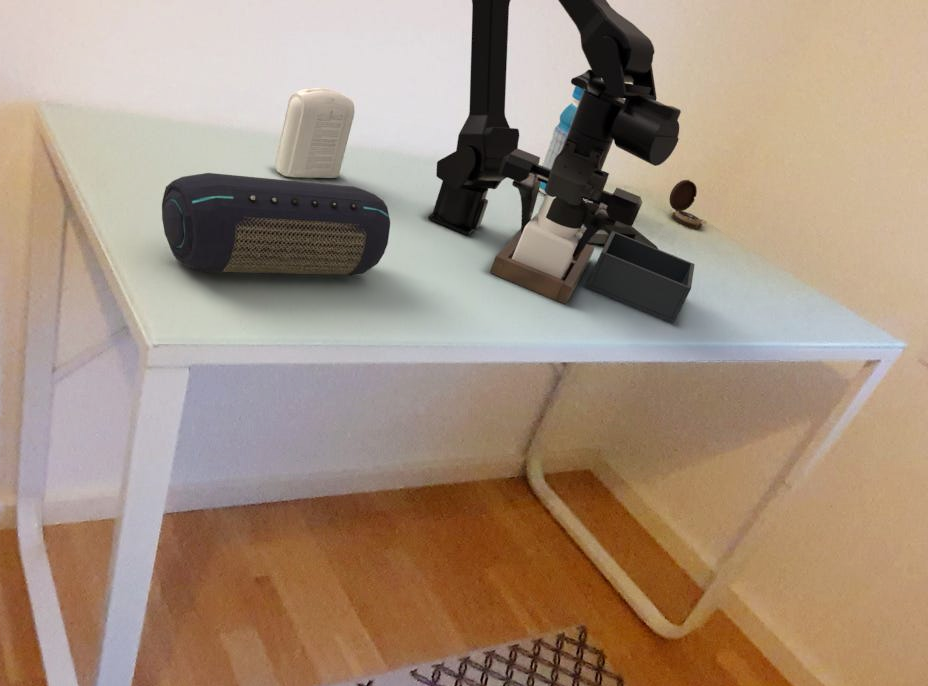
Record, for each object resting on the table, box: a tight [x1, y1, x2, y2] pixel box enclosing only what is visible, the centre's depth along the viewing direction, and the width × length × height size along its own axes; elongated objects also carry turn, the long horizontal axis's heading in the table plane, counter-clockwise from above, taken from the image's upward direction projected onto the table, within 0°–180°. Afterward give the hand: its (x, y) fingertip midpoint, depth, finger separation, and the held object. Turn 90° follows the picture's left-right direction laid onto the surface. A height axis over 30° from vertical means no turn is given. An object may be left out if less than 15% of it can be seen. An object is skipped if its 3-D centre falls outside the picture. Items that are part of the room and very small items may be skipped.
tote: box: [585, 231, 695, 325], centre depth 123 cm, size 13×12×6 cm
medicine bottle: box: [512, 194, 589, 280], centre depth 115 cm, size 7×7×12 cm
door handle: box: [579, 201, 659, 249], centre depth 142 cm, size 3×20×16 cm
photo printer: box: [274, 87, 355, 179], centre depth 121 cm, size 10×4×12 cm, turn 134°
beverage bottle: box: [539, 85, 584, 196], centre depth 152 cm, size 8×8×20 cm
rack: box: [489, 228, 596, 305], centre depth 121 cm, size 11×21×2 cm, turn 162°
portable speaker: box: [161, 172, 391, 277], centre depth 92 cm, size 25×10×10 cm, turn 122°
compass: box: [668, 179, 707, 230], centre depth 168 cm, size 8×8×7 cm
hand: (548, 245), depth 116 cm, fingers closed on medicine bottle, 7 cm apart
